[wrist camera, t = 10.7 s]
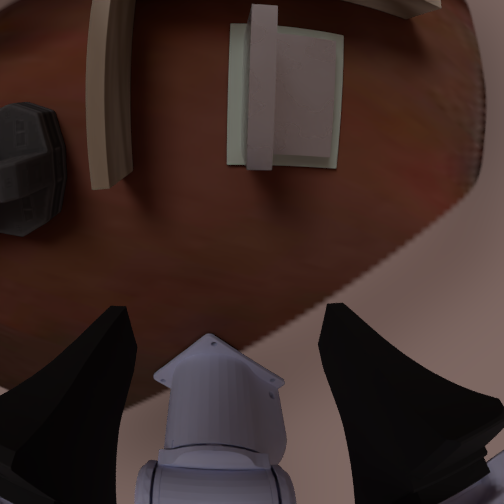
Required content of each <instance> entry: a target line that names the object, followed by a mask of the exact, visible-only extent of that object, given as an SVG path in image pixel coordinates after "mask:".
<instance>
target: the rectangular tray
mask: <svg viewBox="0 0 504 504" xmlns="http://www.w3.org/2000/svg"><path fill="white" fill-rule="evenodd" d="M246 25H247V24H234V23H231V24H230V49H229V79H228V120H227V165H245V163H244V160H243V157H242V154H241V151H240V150H241V109H242V75H243V45H244V33H245V29H246ZM277 33H282V34H292V35H300V36H308V37H315V38H321V39H327V40H333V41H336V68H335V93H334V111H333V126H332V139H331V152H330V157H317V156H301V155H280V154H273V160H272V165H279V166H303V167H320V168H335V169H336V165H337V155H338V144H339V131H340V118H341V102H342V82H343V47H344V35H339V34H334V33H328V32H322V31H316V30H310V29H302V28H294V27H285V26H277Z"/></svg>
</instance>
